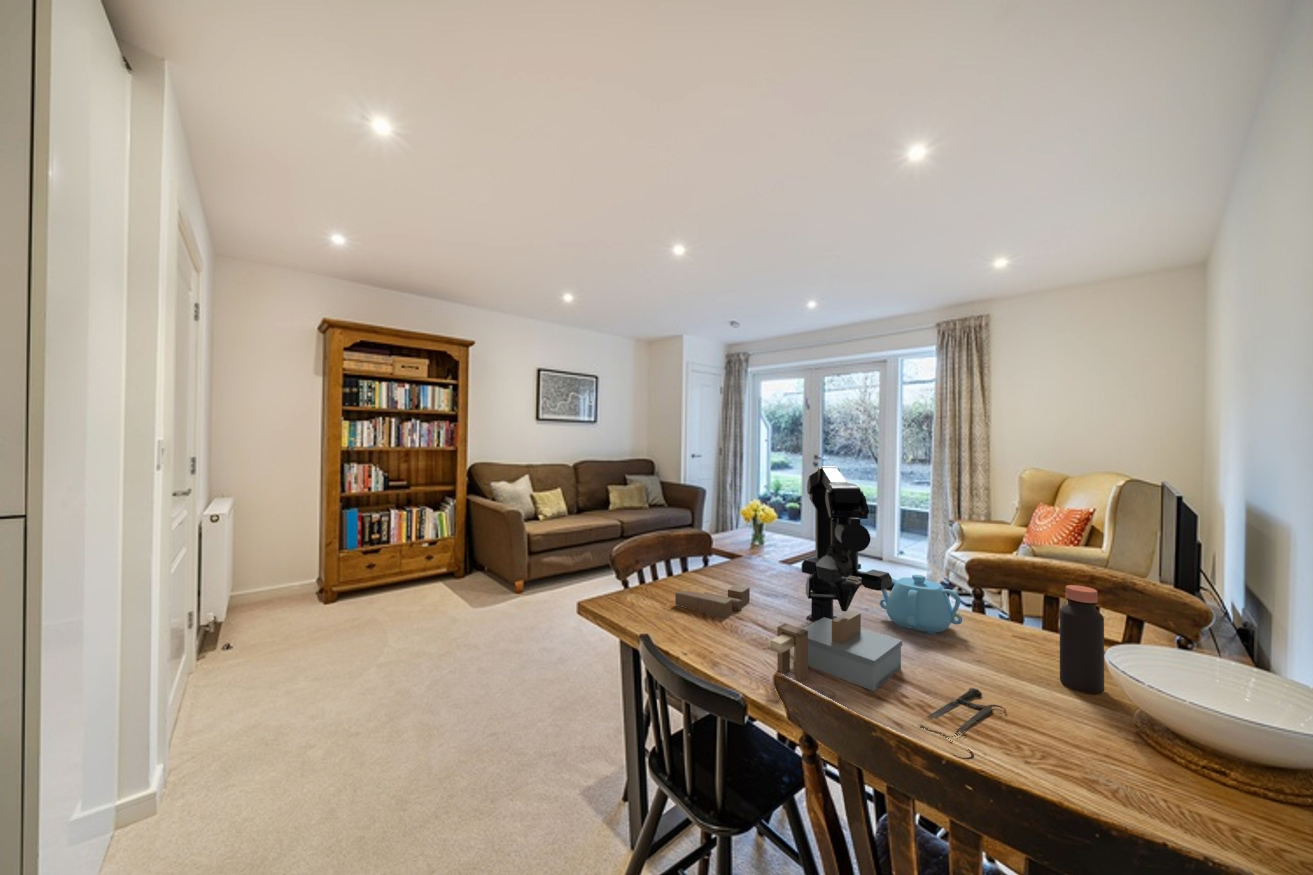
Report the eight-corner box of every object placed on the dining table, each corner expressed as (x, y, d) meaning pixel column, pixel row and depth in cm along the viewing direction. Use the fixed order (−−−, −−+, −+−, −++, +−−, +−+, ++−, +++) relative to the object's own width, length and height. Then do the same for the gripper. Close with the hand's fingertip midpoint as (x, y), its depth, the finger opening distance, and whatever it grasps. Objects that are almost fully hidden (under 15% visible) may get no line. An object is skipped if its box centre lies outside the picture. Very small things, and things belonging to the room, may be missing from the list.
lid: (824, 626, 119) (824, 599, 119) (902, 650, 105) (902, 619, 105) (792, 642, 109) (792, 613, 109) (874, 671, 95) (874, 638, 95)
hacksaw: (972, 692, 96) (972, 684, 96) (1033, 717, 87) (1033, 709, 87) (902, 730, 83) (902, 722, 83) (966, 765, 75) (966, 755, 75)
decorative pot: (933, 615, 137) (933, 567, 137) (968, 638, 121) (967, 584, 121) (876, 614, 138) (875, 567, 138) (902, 637, 122) (902, 583, 122)
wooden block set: (727, 600, 134) (674, 589, 144) (727, 620, 134) (674, 607, 144) (752, 585, 148) (702, 575, 158) (752, 603, 148) (702, 592, 158)
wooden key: (796, 636, 106) (796, 627, 106) (806, 639, 104) (806, 630, 104) (770, 649, 99) (770, 640, 99) (780, 653, 98) (780, 643, 98)
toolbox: (824, 642, 118) (824, 603, 118) (900, 668, 105) (900, 624, 105) (776, 670, 104) (776, 626, 104) (858, 704, 91) (858, 653, 91)
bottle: (1069, 675, 102) (1069, 581, 102) (1110, 690, 96) (1110, 590, 96) (1053, 682, 99) (1052, 586, 99) (1094, 698, 93) (1094, 595, 93)
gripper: (787, 539, 109) (787, 607, 109) (868, 554, 95) (868, 633, 95) (814, 533, 116) (814, 597, 116) (893, 546, 102) (893, 619, 102)
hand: (844, 610), depth 107 cm, fingers closed
